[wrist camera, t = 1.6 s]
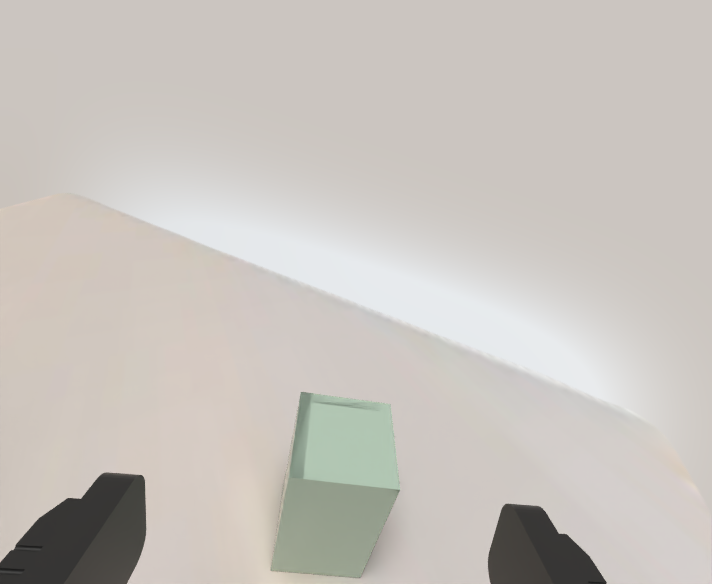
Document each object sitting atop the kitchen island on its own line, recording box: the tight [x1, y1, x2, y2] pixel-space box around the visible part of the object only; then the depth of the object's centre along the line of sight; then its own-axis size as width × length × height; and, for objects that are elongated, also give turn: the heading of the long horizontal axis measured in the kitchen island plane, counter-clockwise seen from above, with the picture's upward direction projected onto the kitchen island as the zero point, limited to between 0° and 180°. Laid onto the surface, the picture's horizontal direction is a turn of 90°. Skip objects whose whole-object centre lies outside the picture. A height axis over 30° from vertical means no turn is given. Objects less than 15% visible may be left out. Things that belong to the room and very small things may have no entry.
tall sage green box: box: [271, 392, 400, 578], centre depth 28 cm, size 6×6×11 cm
